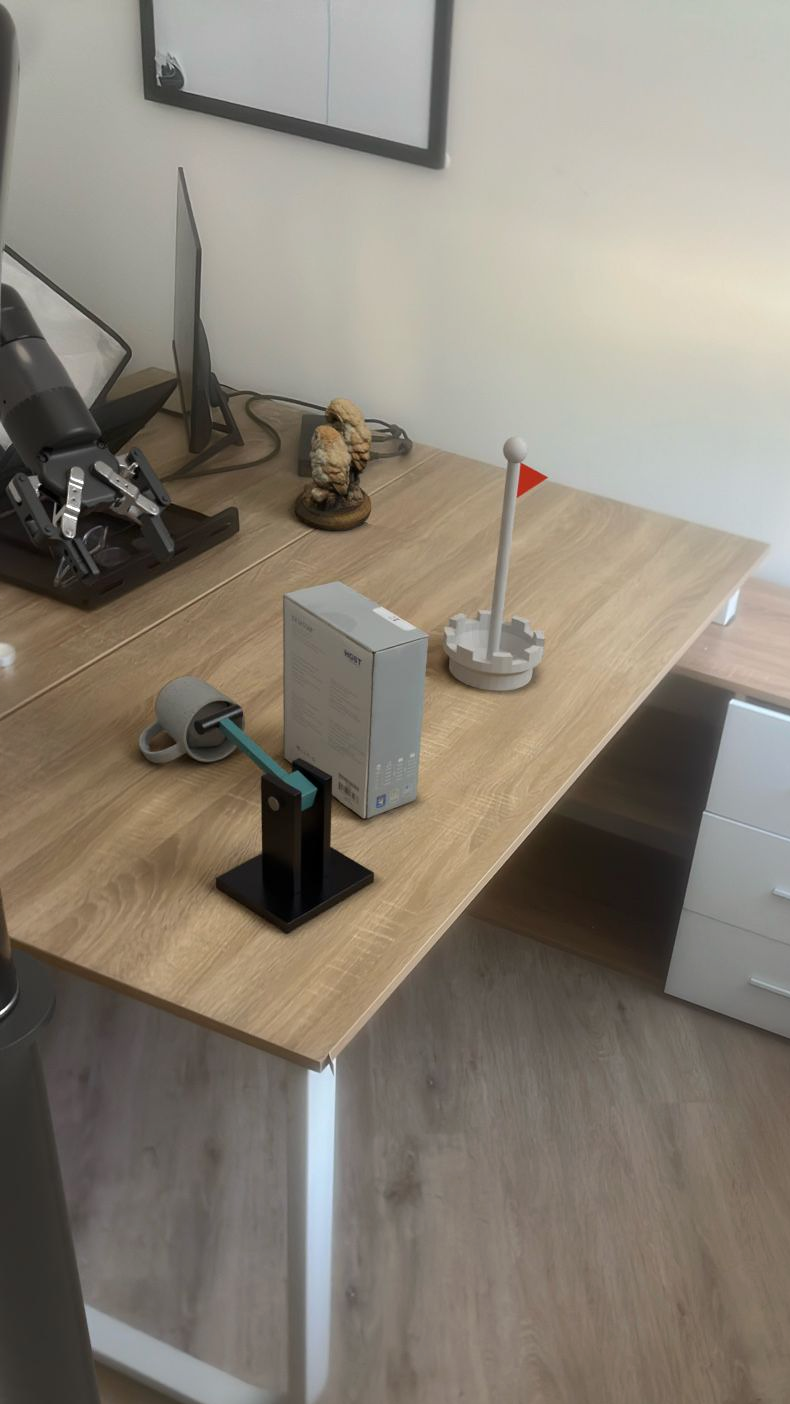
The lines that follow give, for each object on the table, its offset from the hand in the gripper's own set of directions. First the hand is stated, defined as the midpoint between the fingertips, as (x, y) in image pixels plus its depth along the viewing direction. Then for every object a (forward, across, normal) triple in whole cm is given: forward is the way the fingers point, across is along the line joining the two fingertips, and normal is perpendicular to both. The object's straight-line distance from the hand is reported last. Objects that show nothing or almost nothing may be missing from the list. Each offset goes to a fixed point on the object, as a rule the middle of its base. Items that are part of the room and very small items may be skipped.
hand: (131, 569), depth 119 cm
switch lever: (+21, +1, -1) cm, 21 cm away
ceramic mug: (+15, +10, +22) cm, 28 cm away
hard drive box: (+26, +19, +11) cm, 34 cm away
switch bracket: (+33, +1, +4) cm, 33 cm away
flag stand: (+22, +52, +15) cm, 58 cm away
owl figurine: (-14, +74, +50) cm, 90 cm away
